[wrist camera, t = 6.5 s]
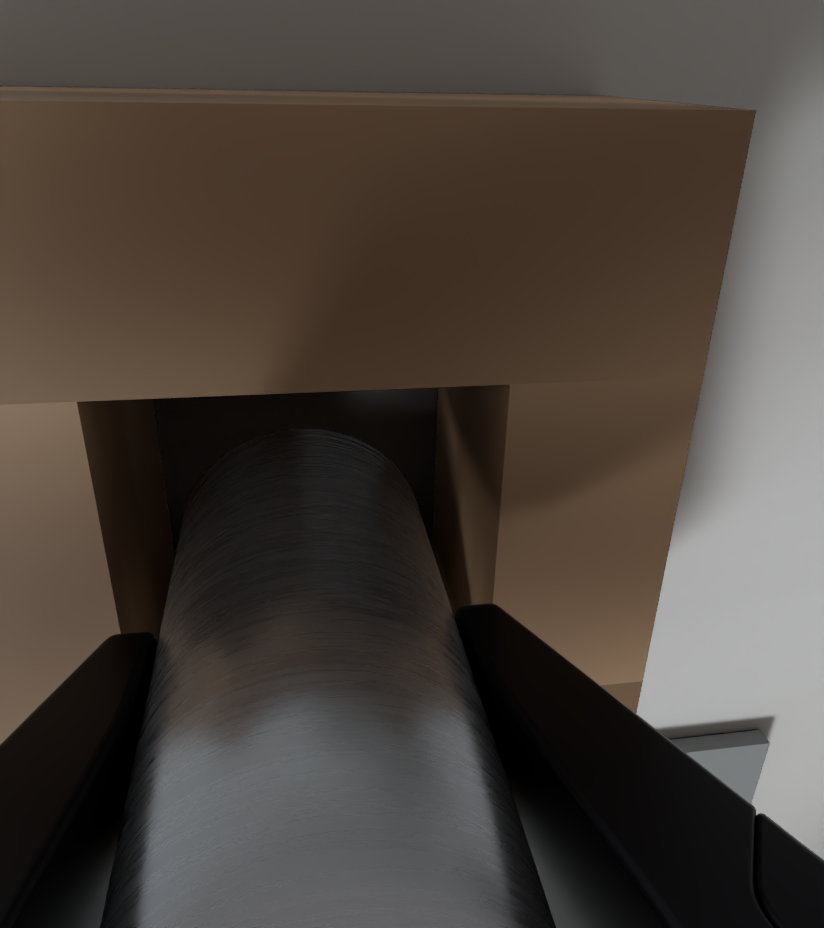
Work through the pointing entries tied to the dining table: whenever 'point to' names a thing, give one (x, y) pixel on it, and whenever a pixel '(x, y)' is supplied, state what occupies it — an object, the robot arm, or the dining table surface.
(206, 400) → the dining table surface
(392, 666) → the peg
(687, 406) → the hole block
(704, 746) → the mat
